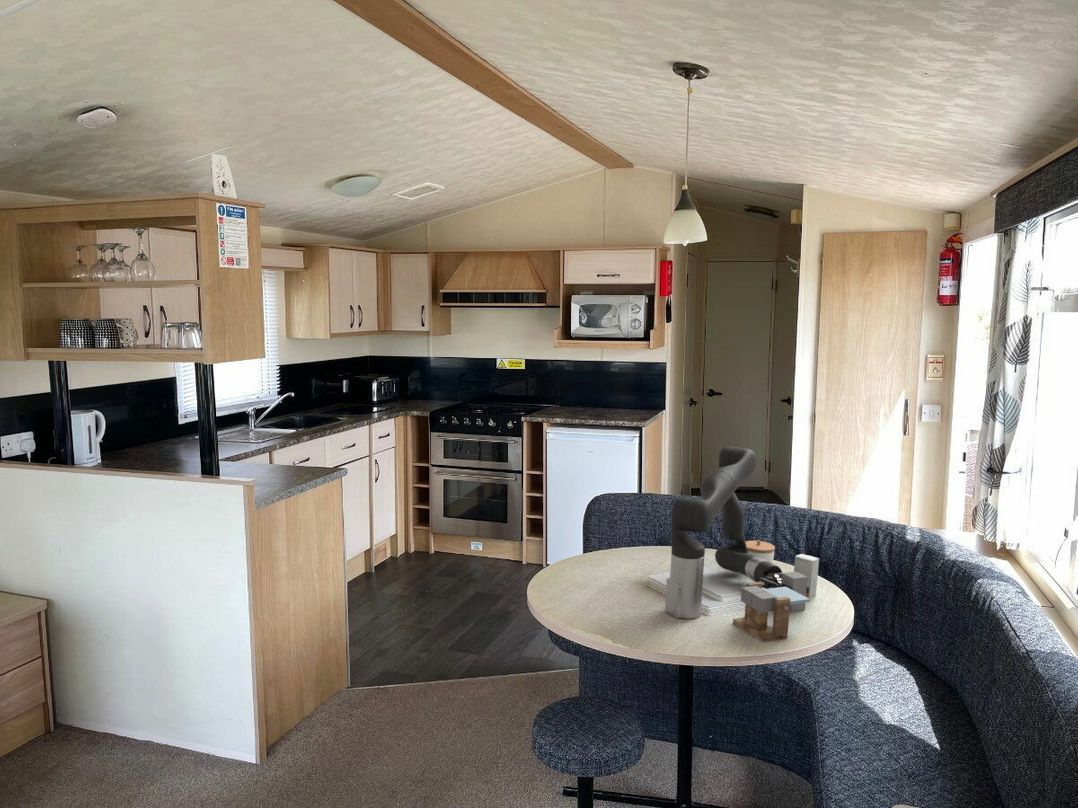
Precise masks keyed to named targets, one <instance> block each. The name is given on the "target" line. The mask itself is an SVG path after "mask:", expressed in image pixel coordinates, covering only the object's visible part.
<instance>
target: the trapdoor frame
mask: <svg viewBox="0 0 1078 808" xmlns="http://www.w3.org/2000/svg"><path fill="white" fill-rule="evenodd" d="M750 586H758V587H760V588H761V589H763V587H762V583H760V582H754V581H753V582H747V583H746V587H750ZM744 604H745V603H744ZM772 616H773V617H772V627H771V626H770V625H768V619H769V612H764V613H761V612H759V611H757V610H756V609H754V608H752V607H750V606H749V605H747V604H745V605H744V617H736V618H732V623H733V624H734V625H736V627H739V628H740V629H742V630H743V631H745V632H747V634H749V635H751V636H752V637H754V638H756V639H757V640H759V641H760V642H762V643H765V642H766V643H767V642H772V641H773V642H774V641H780V640H786V639H787V640H788V636H789V635H788V634H789V623H790V622H789V621H790V598H788V597H782V598H775V600H774V611H773V614H772Z"/></svg>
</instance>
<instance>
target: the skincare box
mask: <svg viewBox="0 0 1078 808" xmlns="http://www.w3.org/2000/svg"><path fill="white" fill-rule="evenodd" d="M819 564H820V558H819V557H815V556H813V555H808V554H807V555H806V554H805V553H800V554H797V555H795V556H794V566H793V567H794V568H793V572H798V573H800V574H802V575H804V576H807V577H808V578H807V586H809V593H806V597H807V598H809V599H810V600H811V598H813V597H816V595H817V586H818V574H819V566H820V565H819Z"/></svg>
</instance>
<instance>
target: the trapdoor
mask: <svg viewBox="0 0 1078 808" xmlns="http://www.w3.org/2000/svg"><path fill="white" fill-rule="evenodd" d="M782 597H788V598H790V604H798V603H805V602H806V603H810V601H811V598H810V599H809V598H807V597H805V596H803V595H801V594H799V593H797V592H795V591H793V590H791V589H789V588H787V587H778V588H770V589H765V588H762V589H761V588H760V587H758V586H750V587H747V586H744V587H742V586H741V594H740V602H742V603H744V604H747V605H749V606H750V607H752V608H754V609H756V610H757V611H759V612H761V613H764V612H768V613H770V612H774V600H775V598H782ZM806 603H805V604H806Z"/></svg>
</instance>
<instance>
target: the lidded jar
mask: <svg viewBox="0 0 1078 808" xmlns="http://www.w3.org/2000/svg"><path fill="white" fill-rule="evenodd" d="M745 542H746V546H747V550H748V553H750V554H752V555H754V556H756V557H759V558H762V559H764V560H767V561H769V562H771V563H773V561H774V557H775V550H776V546H775V545H773V544H772V543H770V542H767V541H761V539H757V540H745Z"/></svg>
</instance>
